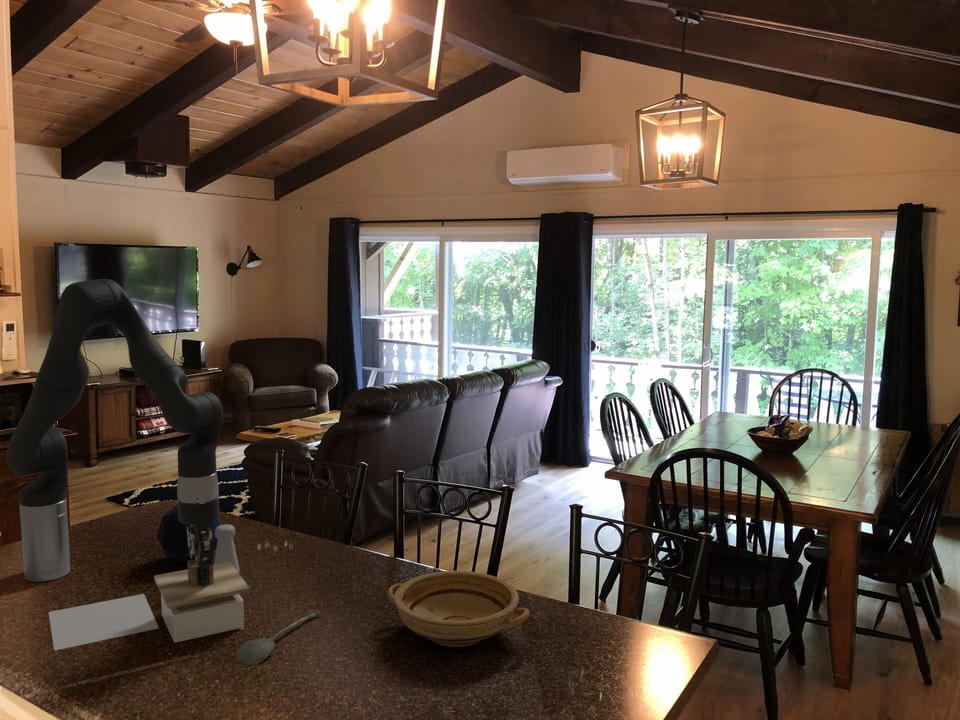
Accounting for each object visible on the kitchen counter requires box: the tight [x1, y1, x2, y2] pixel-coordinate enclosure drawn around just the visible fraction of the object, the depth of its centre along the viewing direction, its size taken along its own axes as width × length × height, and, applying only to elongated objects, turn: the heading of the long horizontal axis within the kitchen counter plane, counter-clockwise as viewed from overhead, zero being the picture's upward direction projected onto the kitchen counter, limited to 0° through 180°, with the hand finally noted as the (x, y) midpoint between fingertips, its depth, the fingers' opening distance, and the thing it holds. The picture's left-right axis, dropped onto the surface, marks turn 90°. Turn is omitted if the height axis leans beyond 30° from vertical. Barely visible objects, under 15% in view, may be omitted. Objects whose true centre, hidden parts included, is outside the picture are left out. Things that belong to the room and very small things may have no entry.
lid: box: [153, 558, 251, 608], centre depth 158 cm, size 15×15×5 cm
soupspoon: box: [235, 609, 321, 666], centre depth 154 cm, size 22×3×7 cm
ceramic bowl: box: [386, 570, 531, 648], centre depth 156 cm, size 30×24×8 cm
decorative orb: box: [156, 503, 223, 564], centre depth 190 cm, size 14×15×15 cm
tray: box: [48, 593, 160, 652], centre depth 159 cm, size 18×18×1 cm
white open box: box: [160, 594, 245, 644], centre depth 159 cm, size 13×13×6 cm
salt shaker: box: [213, 524, 241, 574], centre depth 178 cm, size 6×6×13 cm
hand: (201, 579), depth 158 cm, fingers closed on lid, 4 cm apart
